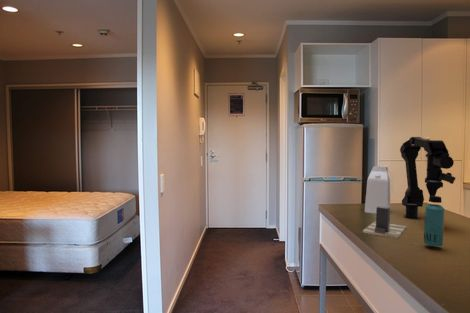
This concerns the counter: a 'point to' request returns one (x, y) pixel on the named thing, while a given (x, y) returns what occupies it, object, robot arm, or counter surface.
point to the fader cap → (383, 218)
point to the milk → (377, 189)
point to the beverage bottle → (434, 223)
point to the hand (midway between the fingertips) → (432, 200)
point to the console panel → (392, 233)
